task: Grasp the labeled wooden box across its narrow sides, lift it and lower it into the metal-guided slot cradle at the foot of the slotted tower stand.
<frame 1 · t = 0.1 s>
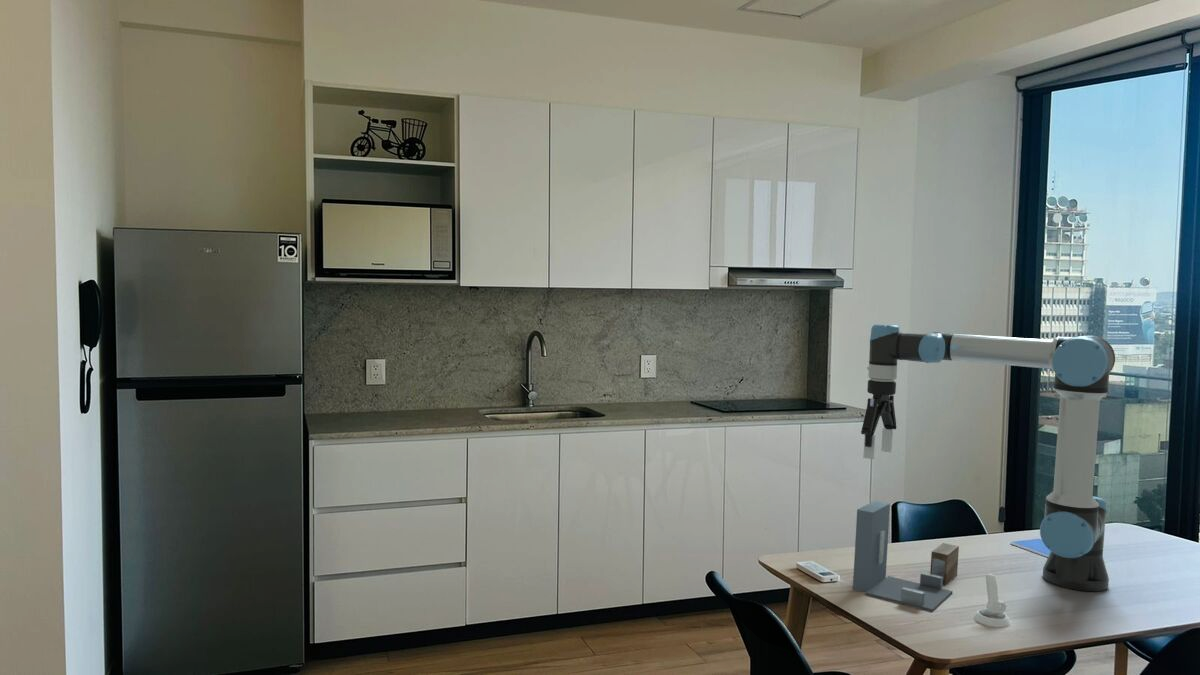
hand: (877, 455, 247), 28 cm above the table, fingers open, 13 cm apart
tablet computer: (1051, 554, 256), on the table
labeled wooden box: (943, 578, 229), on the table
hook: (991, 621, 201), on the table
slotted tower stand: (921, 597, 214), on the table
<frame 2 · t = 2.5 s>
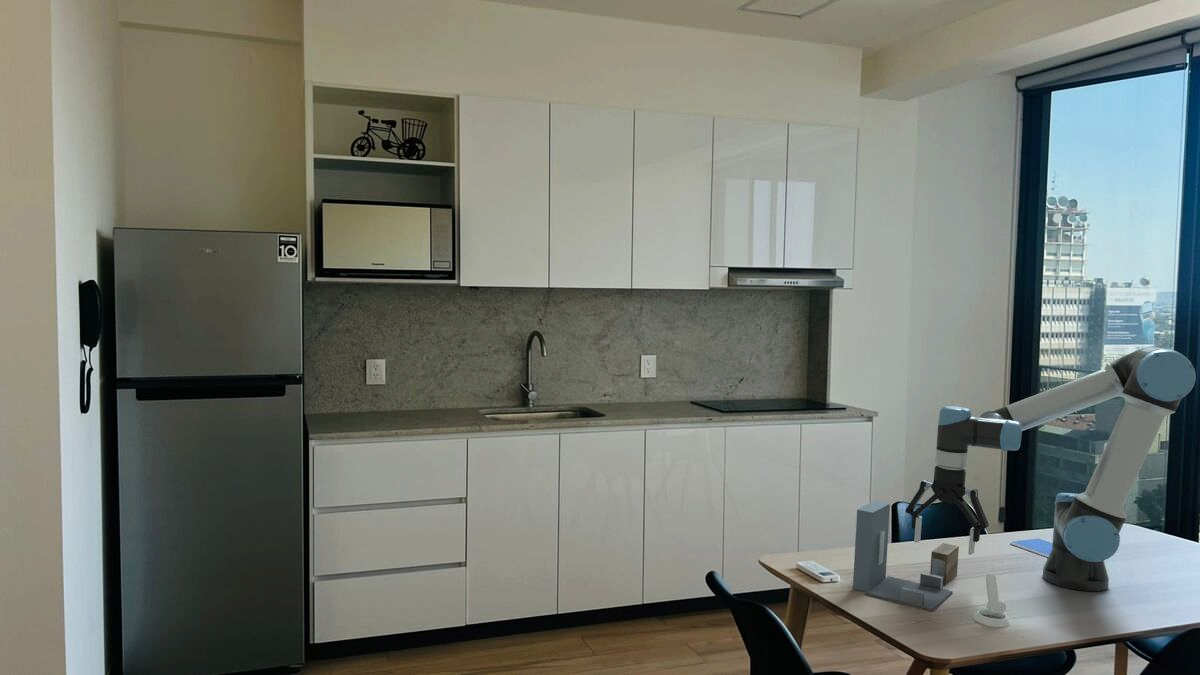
hand: (943, 547, 228), 8 cm above the table, fingers open, 13 cm apart
nothing on the table moved.
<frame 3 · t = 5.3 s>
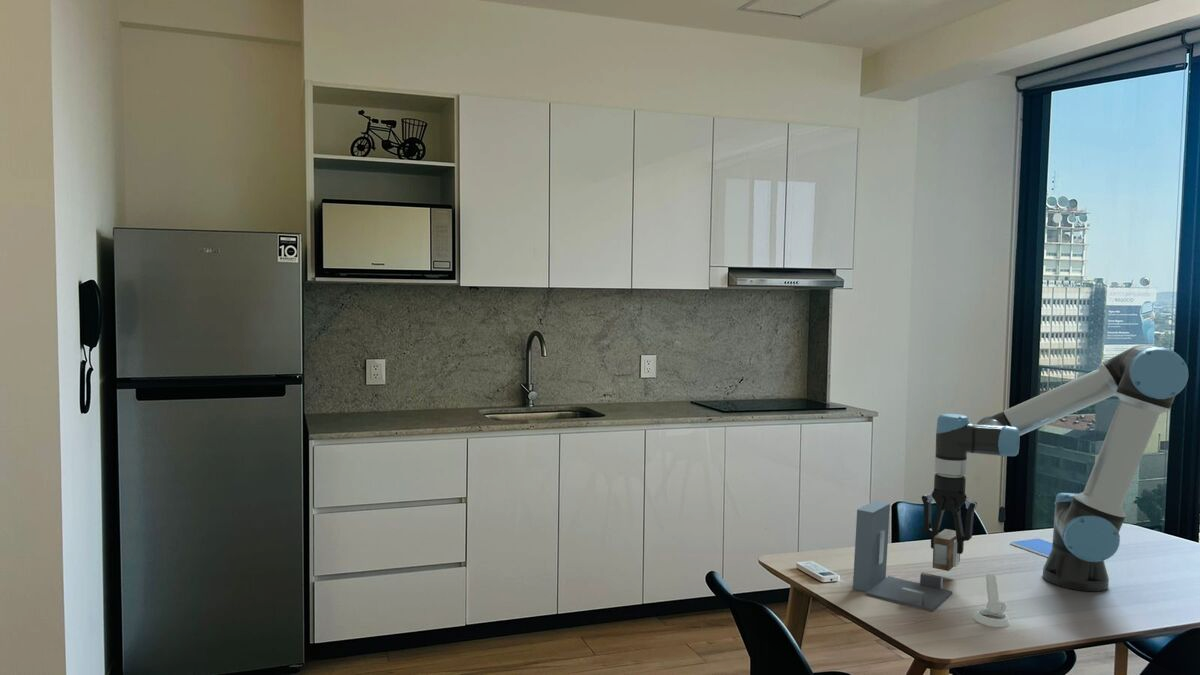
hand: (946, 563, 228), 4 cm above the table, fingers closed on labeled wooden box, 4 cm apart
labeled wooden box: (946, 564, 228), point 4 cm above the table, touching gripper
everything else where it was.
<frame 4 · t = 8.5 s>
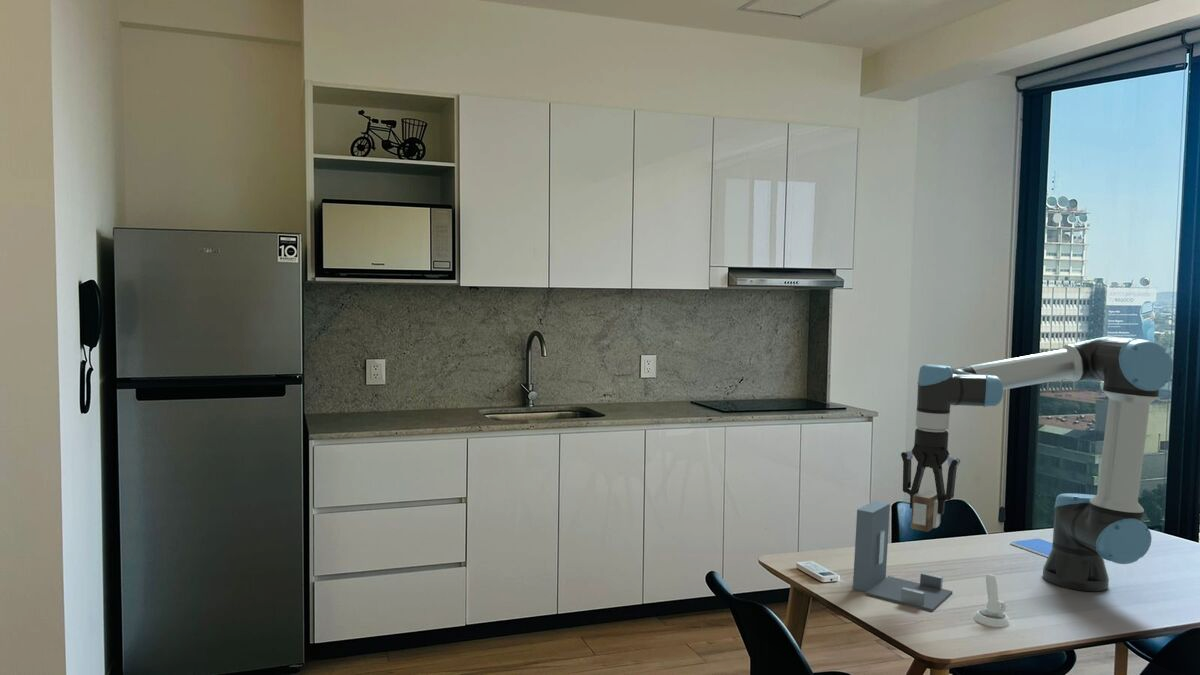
hand: (925, 524, 213), 18 cm above the table, fingers closed on labeled wooden box, 4 cm apart
labeled wooden box: (925, 525, 213), point 18 cm above the table, touching gripper
everything else where it was.
when the fingers open (1 cm above the table, at t = 11.7 s): labeled wooden box stays where it is, resting on slotted tower stand.
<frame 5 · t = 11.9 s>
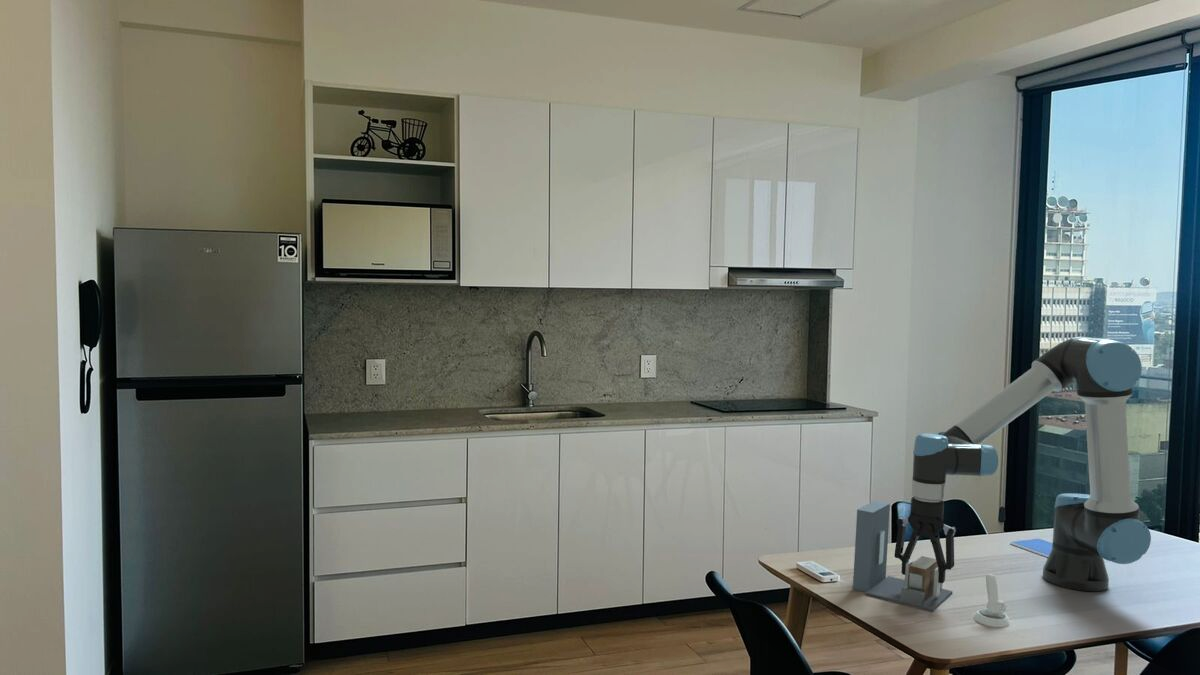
hand: (922, 591, 214), 1 cm above the table, fingers open, 6 cm apart
labeled wooden box: (921, 594, 214), point 1 cm above the table, touching slotted tower stand
everything else where it was.
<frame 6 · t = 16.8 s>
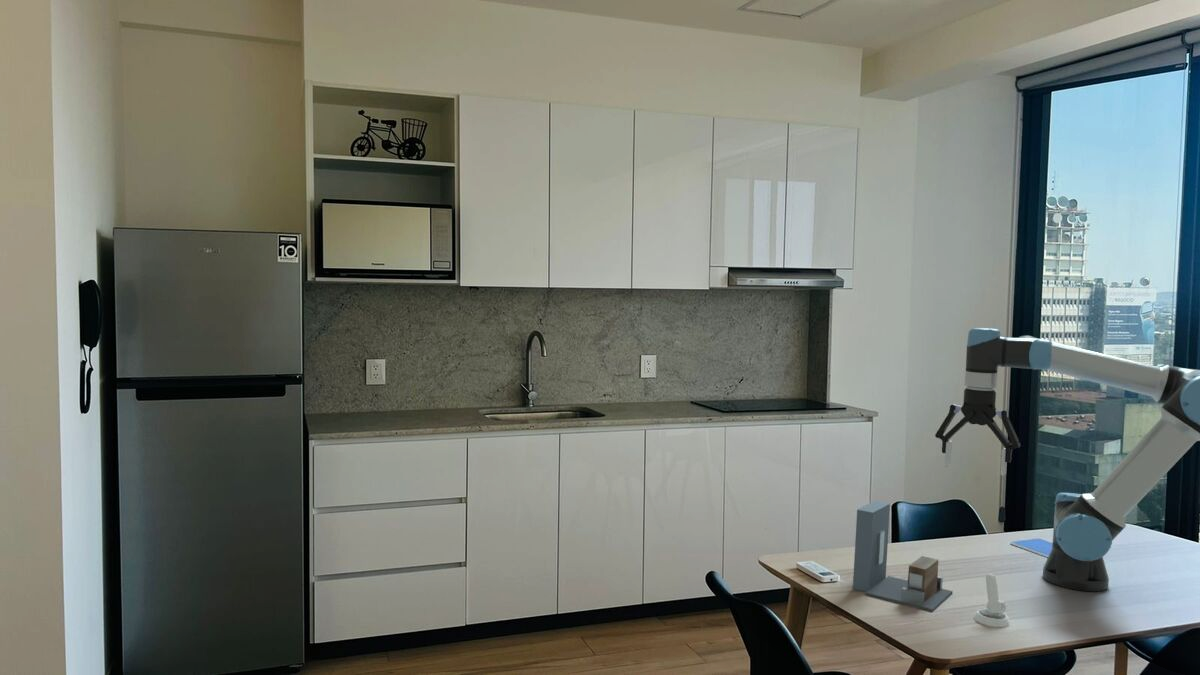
hand: (974, 470, 227), 29 cm above the table, fingers open, 13 cm apart
nothing on the table moved.
at the end: labeled wooden box 0.1 cm off-centre on the slotted tower stand, point 0.6 cm above the slotted tower stand's base; labeled wooden box tilted 0°; the gripper is holding nothing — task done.
